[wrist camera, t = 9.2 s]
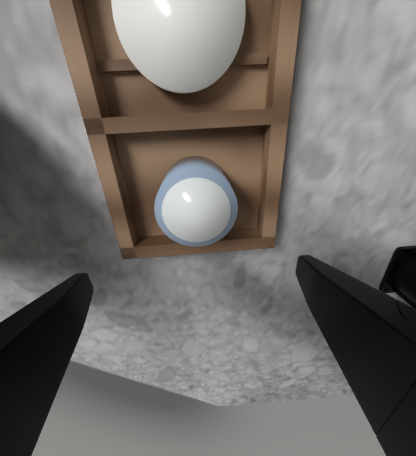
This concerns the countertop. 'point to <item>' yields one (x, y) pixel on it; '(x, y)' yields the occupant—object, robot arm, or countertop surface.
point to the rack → (184, 123)
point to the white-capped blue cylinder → (195, 202)
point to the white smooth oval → (180, 39)
